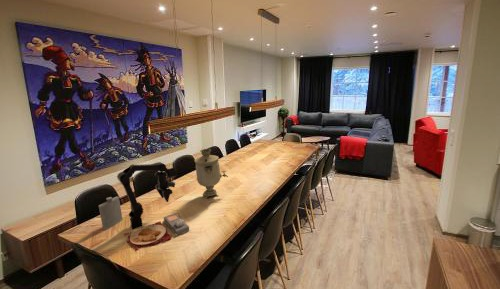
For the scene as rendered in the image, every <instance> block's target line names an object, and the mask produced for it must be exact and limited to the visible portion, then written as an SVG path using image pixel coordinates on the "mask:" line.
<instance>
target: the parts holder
mask: <svg viewBox="0 0 500 289" xmlns="http://www.w3.org/2000/svg"><path fill="white" fill-rule="evenodd" d="M178 219H181V220H182V221H183V224H184V226H182V227H179V228H176V227H175V223H174V221H176V220H178ZM163 221H164V223H165V224H166V225H167V226H168V227H169V228H170V229H171V231H172V232H173V234H175V236H179V235H181V234H182V235H183V234H185V233H187V232H190V226H189V224H187V222H185V221H184V220H183V219H182V218H181V217H180V216H179V215H178V214H177V213H171V214H170V215H166V216H163Z"/></svg>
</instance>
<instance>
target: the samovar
mask: <svg viewBox="0 0 500 289" xmlns="http://www.w3.org/2000/svg"><path fill="white" fill-rule="evenodd" d="M211 151H212V149H210V148H203V149H200V150H199V152H201V155H202V156H200V157H197V158H195V159H194V163H195V172H196V173H195V174H196V180H197V183H198V184H199V185H200V186H202V187H205V190H204V191H203V193H202V195H204V199H205V200H207V199H208V198H209V197H213V196H216V197H219V195H218V194H217V190H216V189H214V188H215V186H216V185H217V184H218V183H219V182H220V181H221V179H222V177H224V178H229V175H227V174H226V172H227V171H226V170H221V169H220V168H221V167H220V162H219V158H220V157H219V156H218V155H214V154H211ZM220 170H221V171H220ZM221 173H223V174H221Z"/></svg>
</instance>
